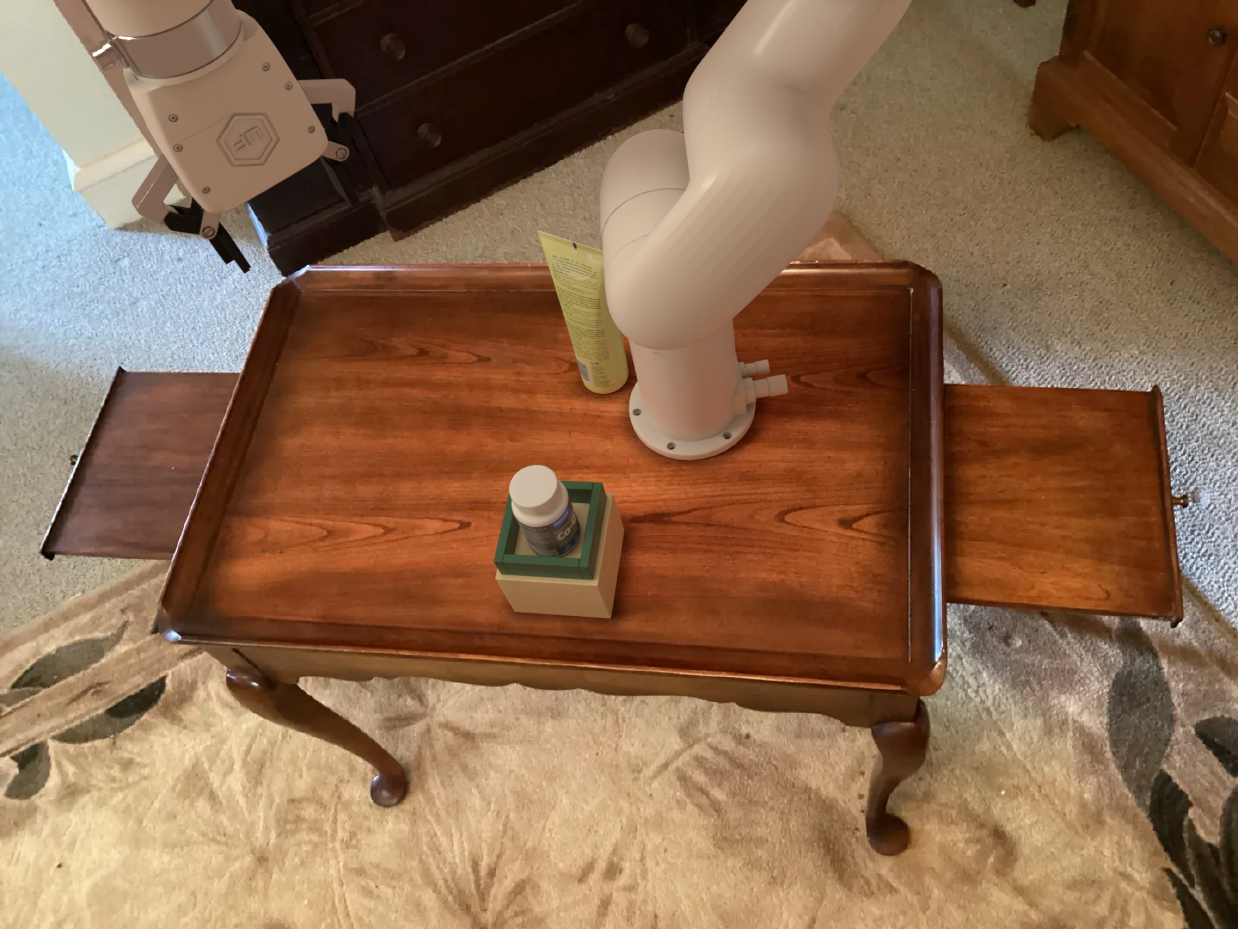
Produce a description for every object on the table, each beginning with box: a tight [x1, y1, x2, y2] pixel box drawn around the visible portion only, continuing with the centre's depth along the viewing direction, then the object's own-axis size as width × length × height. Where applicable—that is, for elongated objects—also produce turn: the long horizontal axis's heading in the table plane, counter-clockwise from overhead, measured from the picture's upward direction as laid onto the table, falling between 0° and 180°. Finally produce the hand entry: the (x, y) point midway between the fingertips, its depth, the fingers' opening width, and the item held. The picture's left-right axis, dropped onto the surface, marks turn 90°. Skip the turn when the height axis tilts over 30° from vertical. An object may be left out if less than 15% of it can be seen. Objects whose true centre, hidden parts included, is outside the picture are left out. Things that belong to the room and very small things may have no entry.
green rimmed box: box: [493, 479, 625, 619], centre depth 85 cm, size 9×9×10 cm
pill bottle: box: [508, 464, 581, 557], centre depth 80 cm, size 5×5×8 cm
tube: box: [537, 230, 630, 395], centre depth 92 cm, size 6×5×20 cm
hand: (295, 229), depth 74 cm, fingers open, 9 cm apart
